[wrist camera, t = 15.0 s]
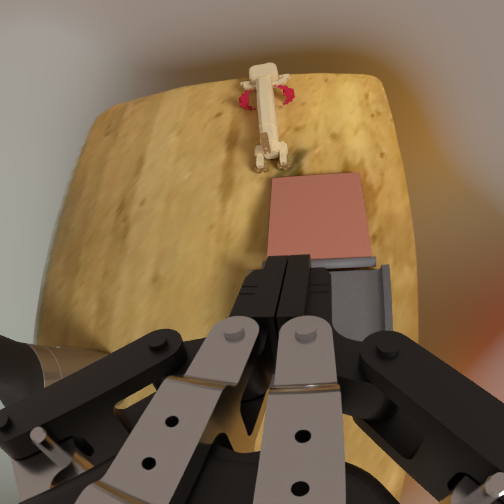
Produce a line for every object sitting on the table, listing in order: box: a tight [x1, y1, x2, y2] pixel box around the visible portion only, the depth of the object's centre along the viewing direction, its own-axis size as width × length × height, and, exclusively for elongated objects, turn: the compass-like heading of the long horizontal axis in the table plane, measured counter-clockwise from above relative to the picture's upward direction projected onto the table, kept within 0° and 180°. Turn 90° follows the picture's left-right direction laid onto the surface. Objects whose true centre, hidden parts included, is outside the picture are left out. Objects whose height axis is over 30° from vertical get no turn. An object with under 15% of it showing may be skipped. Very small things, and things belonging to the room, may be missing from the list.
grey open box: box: [249, 265, 393, 387], centre depth 37 cm, size 14×17×5 cm
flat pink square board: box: [262, 173, 376, 269], centre depth 42 cm, size 2×14×15 cm
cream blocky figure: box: [239, 63, 295, 173], centre depth 48 cm, size 10×9×25 cm
